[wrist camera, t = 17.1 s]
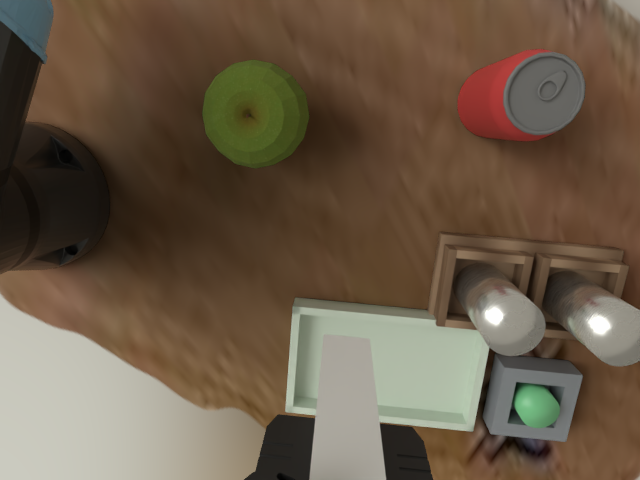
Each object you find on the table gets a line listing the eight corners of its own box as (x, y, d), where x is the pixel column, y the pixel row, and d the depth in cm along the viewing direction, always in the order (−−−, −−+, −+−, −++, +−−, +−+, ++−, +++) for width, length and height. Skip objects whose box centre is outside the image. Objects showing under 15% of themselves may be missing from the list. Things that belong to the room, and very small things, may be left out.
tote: (288, 398, 52) (285, 412, 50) (295, 297, 49) (292, 306, 47) (466, 417, 51) (473, 431, 49) (486, 315, 48) (493, 325, 46)
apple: (323, 82, 43) (315, 68, 32) (304, 168, 45) (291, 183, 34) (234, 62, 43) (196, 41, 32) (220, 149, 45) (180, 158, 34)
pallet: (425, 321, 49) (430, 334, 46) (439, 231, 46) (445, 239, 43) (593, 337, 48) (611, 351, 45) (617, 247, 46) (636, 256, 43)
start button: (506, 408, 50) (516, 426, 47) (513, 376, 49) (523, 392, 46) (542, 412, 50) (555, 430, 47) (550, 380, 49) (563, 396, 46)
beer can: (541, 98, 43) (614, 88, 31) (489, 152, 44) (541, 161, 32) (491, 50, 42) (548, 21, 30) (441, 106, 43) (476, 99, 32)
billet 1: (450, 305, 47) (477, 353, 37) (457, 260, 46) (488, 296, 36) (498, 310, 47) (538, 358, 37) (507, 264, 46) (551, 302, 36)
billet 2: (535, 315, 47) (587, 365, 37) (542, 269, 45) (597, 308, 36) (584, 317, 46) (649, 367, 37) (592, 271, 45) (662, 310, 36)
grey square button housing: (482, 416, 51) (490, 433, 48) (494, 353, 49) (504, 367, 46) (553, 423, 51) (565, 441, 48) (568, 360, 49) (583, 375, 46)
